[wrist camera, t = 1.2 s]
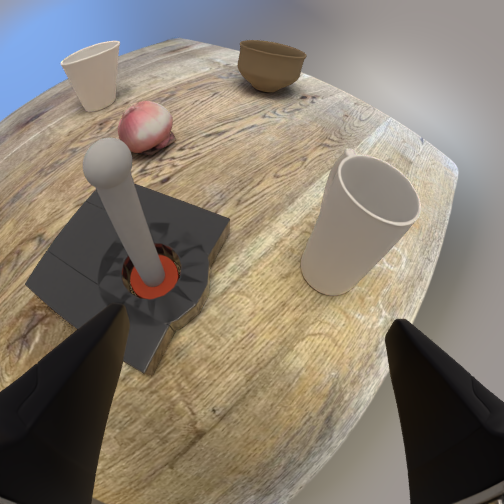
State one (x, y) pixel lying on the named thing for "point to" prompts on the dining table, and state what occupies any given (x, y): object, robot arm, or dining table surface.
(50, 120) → the dining table surface
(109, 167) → the stopper
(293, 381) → the dining table surface
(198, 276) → the sink board
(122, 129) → the onion
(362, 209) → the mug
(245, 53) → the bowl
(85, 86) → the cup
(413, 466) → the robot arm
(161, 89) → the dining table surface
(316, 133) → the dining table surface
